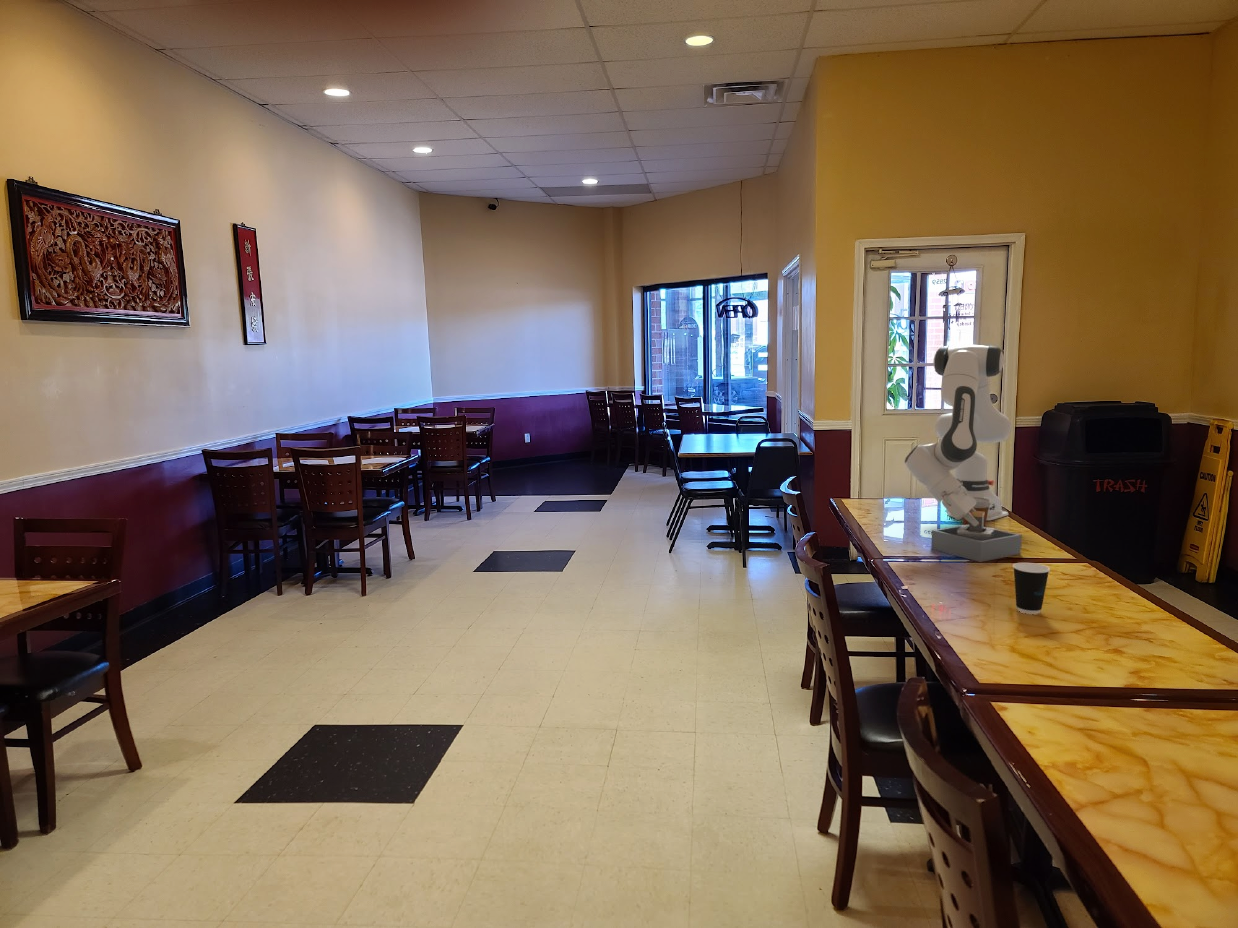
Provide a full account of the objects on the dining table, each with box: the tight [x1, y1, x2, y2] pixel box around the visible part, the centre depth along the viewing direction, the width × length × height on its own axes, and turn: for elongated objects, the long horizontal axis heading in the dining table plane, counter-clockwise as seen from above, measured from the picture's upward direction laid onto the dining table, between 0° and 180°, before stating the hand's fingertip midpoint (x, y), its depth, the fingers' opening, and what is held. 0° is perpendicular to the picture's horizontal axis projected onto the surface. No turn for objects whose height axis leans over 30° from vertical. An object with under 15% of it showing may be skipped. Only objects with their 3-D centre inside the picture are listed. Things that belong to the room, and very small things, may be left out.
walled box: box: [930, 524, 1023, 563], centre depth 239 cm, size 18×18×6 cm
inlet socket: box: [957, 524, 996, 541], centre depth 239 cm, size 9×9×6 cm
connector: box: [969, 511, 985, 532], centre depth 239 cm, size 4×4×8 cm
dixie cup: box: [1012, 562, 1051, 615], centre depth 184 cm, size 8×8×11 cm
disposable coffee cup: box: [961, 497, 990, 527], centre depth 261 cm, size 10×10×12 cm
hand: (978, 523), depth 238 cm, fingers closed on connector, 4 cm apart
